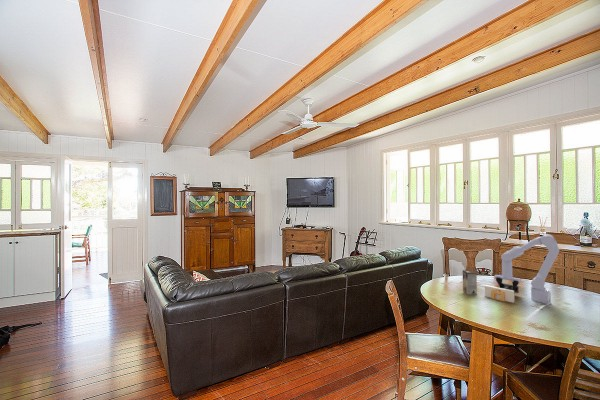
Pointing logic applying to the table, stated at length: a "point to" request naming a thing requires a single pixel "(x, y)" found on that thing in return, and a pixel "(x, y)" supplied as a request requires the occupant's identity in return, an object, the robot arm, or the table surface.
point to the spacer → (498, 293)
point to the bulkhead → (508, 294)
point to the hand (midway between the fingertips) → (507, 290)
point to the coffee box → (469, 282)
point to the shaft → (509, 287)
